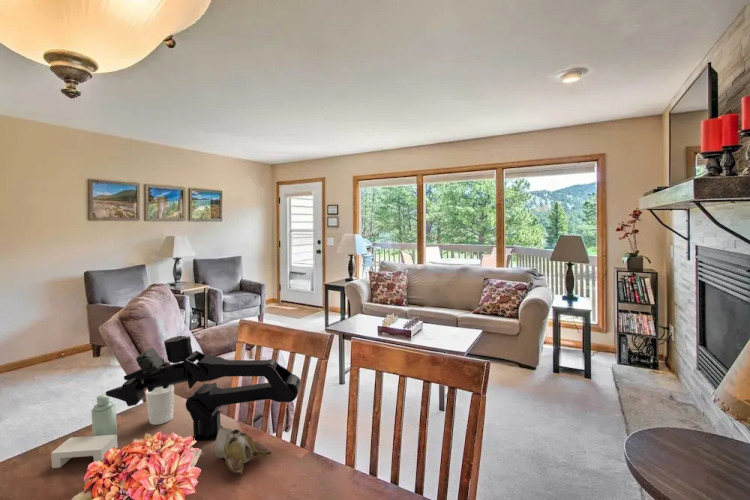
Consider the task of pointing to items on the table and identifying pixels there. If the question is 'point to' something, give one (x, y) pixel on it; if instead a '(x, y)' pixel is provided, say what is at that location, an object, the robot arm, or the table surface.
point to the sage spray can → (104, 417)
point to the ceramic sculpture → (237, 449)
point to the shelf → (83, 448)
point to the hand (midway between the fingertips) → (115, 385)
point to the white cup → (160, 404)
